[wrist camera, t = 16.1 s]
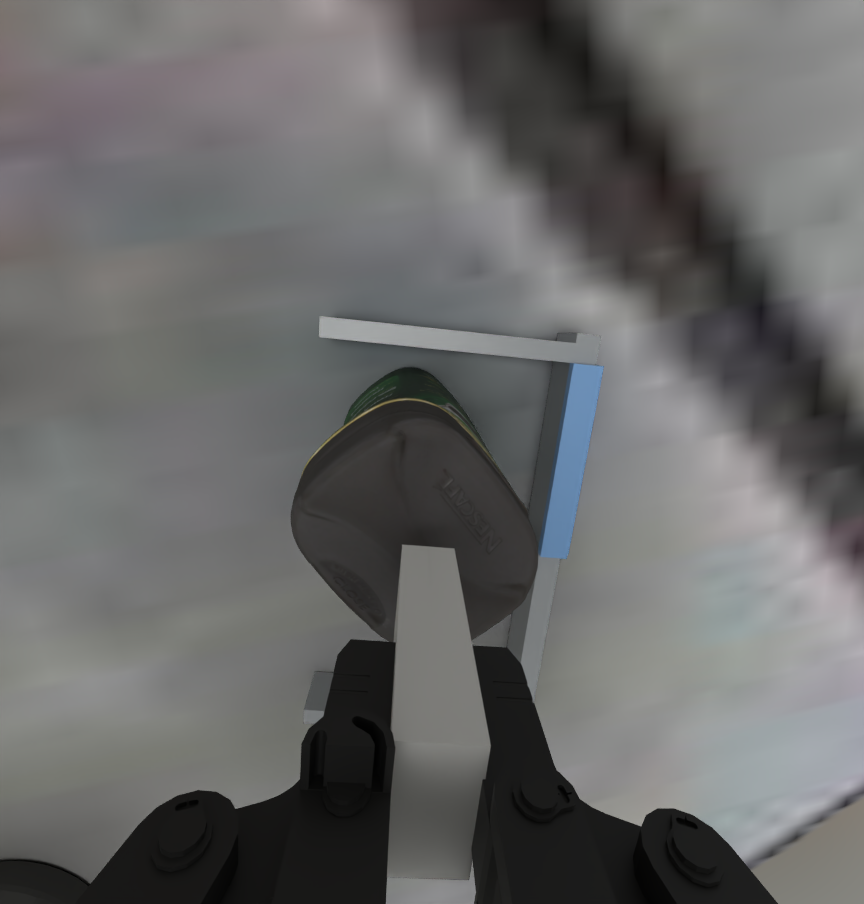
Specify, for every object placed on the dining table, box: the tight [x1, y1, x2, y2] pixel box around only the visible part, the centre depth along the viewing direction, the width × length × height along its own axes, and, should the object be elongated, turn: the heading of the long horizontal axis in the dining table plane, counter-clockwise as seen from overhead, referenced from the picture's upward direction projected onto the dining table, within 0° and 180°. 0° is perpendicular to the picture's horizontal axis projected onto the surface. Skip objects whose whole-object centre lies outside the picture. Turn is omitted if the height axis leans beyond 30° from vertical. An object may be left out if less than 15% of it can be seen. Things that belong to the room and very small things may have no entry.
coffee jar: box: [291, 368, 538, 642], centre depth 24 cm, size 10×8×19 cm
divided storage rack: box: [303, 316, 604, 724], centre depth 33 cm, size 18×30×5 cm, turn 174°
